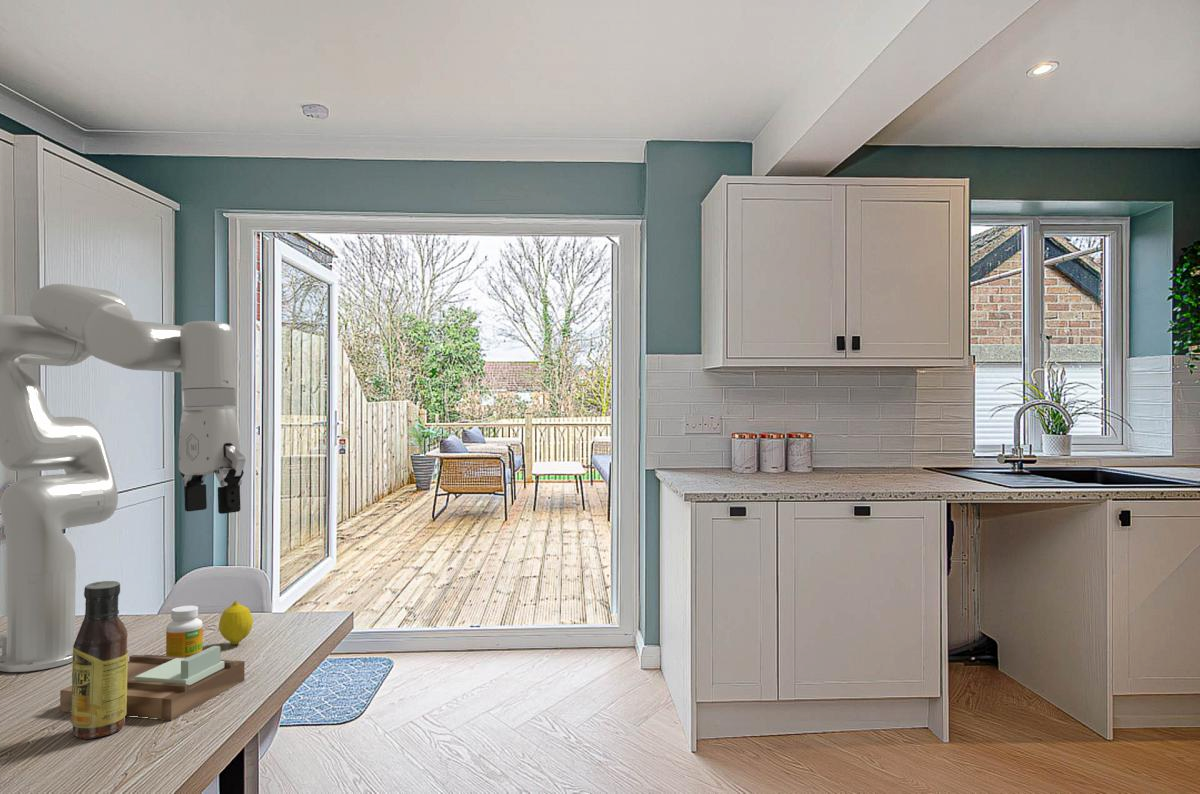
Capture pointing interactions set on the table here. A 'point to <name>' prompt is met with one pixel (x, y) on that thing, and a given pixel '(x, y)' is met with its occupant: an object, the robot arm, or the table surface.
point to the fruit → (235, 623)
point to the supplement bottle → (184, 632)
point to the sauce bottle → (100, 665)
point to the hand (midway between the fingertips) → (212, 511)
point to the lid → (186, 668)
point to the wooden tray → (167, 689)
